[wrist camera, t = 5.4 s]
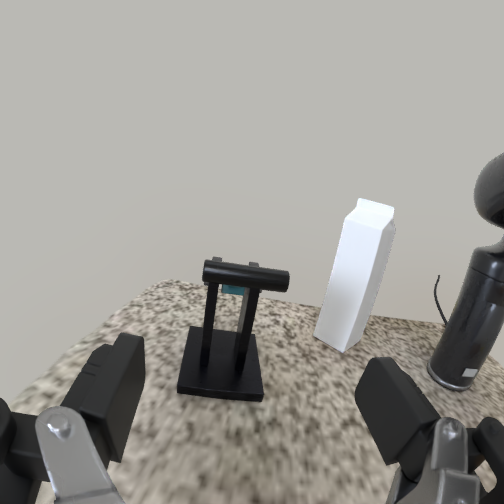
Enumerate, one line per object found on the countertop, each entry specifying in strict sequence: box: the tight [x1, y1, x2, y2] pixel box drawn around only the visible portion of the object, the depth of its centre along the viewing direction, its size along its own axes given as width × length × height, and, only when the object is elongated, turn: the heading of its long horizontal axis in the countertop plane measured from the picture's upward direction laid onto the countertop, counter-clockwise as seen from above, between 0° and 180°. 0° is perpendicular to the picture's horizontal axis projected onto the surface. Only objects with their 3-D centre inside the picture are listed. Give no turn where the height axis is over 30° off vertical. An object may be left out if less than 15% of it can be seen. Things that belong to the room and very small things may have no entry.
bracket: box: [177, 257, 264, 402], centre depth 30 cm, size 12×9×13 cm
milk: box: [313, 198, 395, 353], centre depth 39 cm, size 6×6×22 cm
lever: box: [202, 260, 290, 296], centre depth 24 cm, size 13×6×2 cm, turn 4°
